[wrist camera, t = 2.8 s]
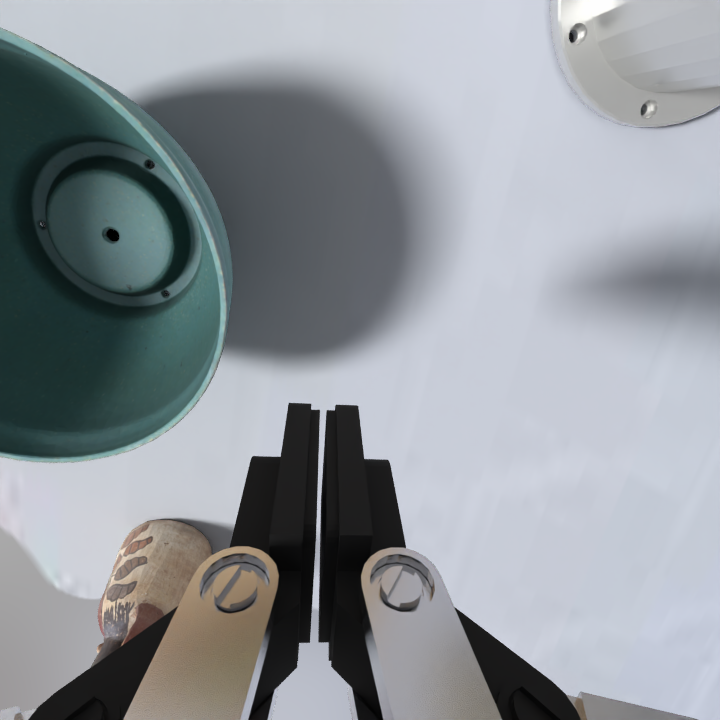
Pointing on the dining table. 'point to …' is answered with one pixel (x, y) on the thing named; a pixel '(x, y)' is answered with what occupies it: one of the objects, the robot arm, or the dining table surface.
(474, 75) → the dining table surface
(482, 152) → the dining table surface
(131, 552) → the figurine
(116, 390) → the flower pot
